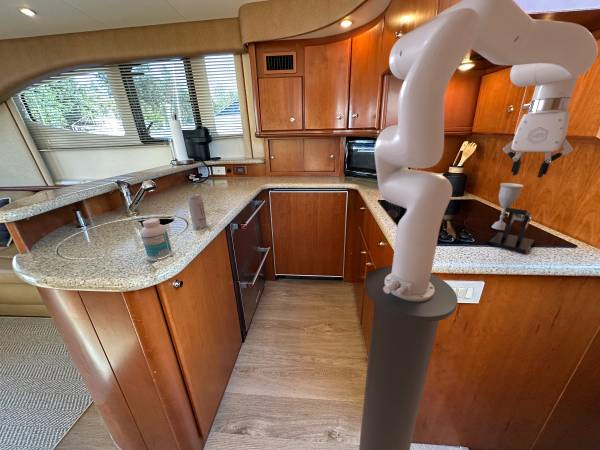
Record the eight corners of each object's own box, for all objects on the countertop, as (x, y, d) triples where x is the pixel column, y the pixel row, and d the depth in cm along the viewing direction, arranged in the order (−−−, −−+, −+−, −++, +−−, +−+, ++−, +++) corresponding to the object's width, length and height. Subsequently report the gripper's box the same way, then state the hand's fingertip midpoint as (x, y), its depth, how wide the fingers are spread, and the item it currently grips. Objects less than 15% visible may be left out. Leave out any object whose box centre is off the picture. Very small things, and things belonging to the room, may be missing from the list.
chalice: (485, 224, 102) (496, 182, 96) (502, 224, 101) (515, 182, 95) (495, 230, 96) (507, 186, 89) (514, 231, 94) (528, 186, 88)
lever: (525, 216, 72) (528, 208, 71) (504, 212, 75) (507, 205, 75) (527, 223, 80) (530, 216, 80) (508, 219, 83) (511, 213, 83)
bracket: (525, 254, 77) (537, 220, 73) (488, 244, 84) (497, 213, 80) (533, 243, 84) (544, 212, 80) (498, 235, 91) (506, 206, 87)
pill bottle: (157, 252, 86) (148, 216, 81) (177, 252, 85) (168, 216, 81) (143, 262, 79) (131, 224, 74) (163, 262, 78) (153, 224, 74)
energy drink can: (203, 229, 106) (197, 196, 101) (190, 229, 107) (184, 196, 101) (209, 224, 112) (204, 193, 106) (197, 224, 112) (191, 193, 107)
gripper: (504, 110, 67) (488, 174, 74) (596, 102, 55) (567, 181, 61) (511, 111, 72) (495, 171, 78) (598, 104, 59) (570, 177, 66)
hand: (527, 175), depth 70 cm, fingers open, 4 cm apart
